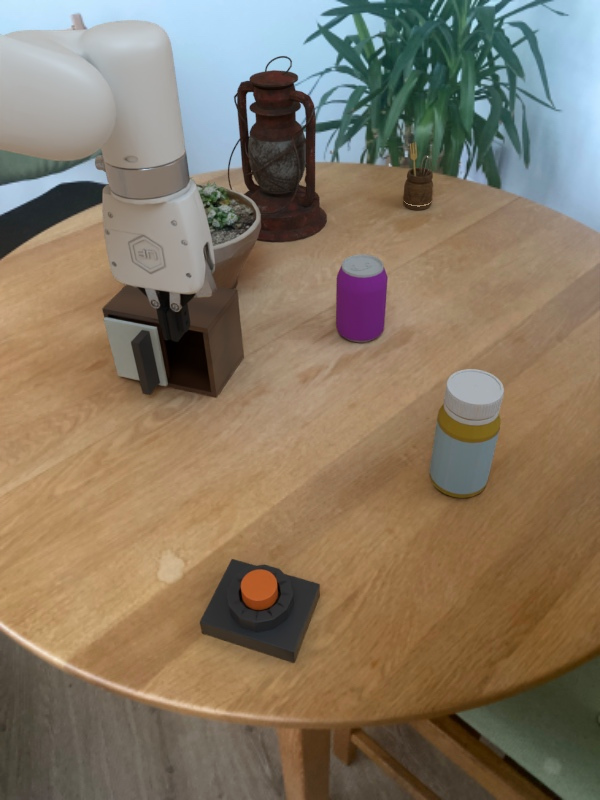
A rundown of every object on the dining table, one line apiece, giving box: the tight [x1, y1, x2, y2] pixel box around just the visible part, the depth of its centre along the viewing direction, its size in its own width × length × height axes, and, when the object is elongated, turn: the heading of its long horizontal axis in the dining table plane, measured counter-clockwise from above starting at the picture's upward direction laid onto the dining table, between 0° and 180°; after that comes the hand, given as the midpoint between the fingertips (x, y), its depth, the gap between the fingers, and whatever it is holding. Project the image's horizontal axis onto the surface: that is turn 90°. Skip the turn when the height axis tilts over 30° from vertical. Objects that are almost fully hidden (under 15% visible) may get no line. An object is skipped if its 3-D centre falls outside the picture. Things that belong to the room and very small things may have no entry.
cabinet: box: [101, 284, 245, 398], centre depth 98 cm, size 10×16×12 cm, turn 71°
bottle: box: [428, 368, 505, 499], centre depth 78 cm, size 7×7×15 cm
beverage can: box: [335, 253, 389, 343], centre depth 104 cm, size 8×8×12 cm
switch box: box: [199, 558, 321, 664], centre depth 69 cm, size 10×8×4 cm
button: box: [241, 569, 278, 610], centre depth 67 cm, size 4×4×2 cm
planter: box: [190, 177, 261, 290], centre depth 115 cm, size 26×25×15 cm
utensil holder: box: [402, 141, 434, 211], centre depth 138 cm, size 6×6×12 cm
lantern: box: [227, 55, 328, 243], centre depth 128 cm, size 19×19×30 cm
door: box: [103, 317, 168, 396], centre depth 94 cm, size 4×8×10 cm, turn 71°
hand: (176, 333), depth 75 cm, fingers closed
